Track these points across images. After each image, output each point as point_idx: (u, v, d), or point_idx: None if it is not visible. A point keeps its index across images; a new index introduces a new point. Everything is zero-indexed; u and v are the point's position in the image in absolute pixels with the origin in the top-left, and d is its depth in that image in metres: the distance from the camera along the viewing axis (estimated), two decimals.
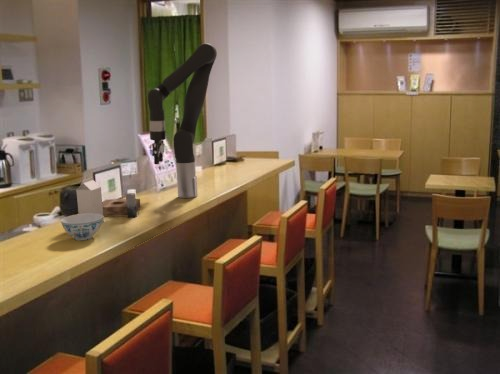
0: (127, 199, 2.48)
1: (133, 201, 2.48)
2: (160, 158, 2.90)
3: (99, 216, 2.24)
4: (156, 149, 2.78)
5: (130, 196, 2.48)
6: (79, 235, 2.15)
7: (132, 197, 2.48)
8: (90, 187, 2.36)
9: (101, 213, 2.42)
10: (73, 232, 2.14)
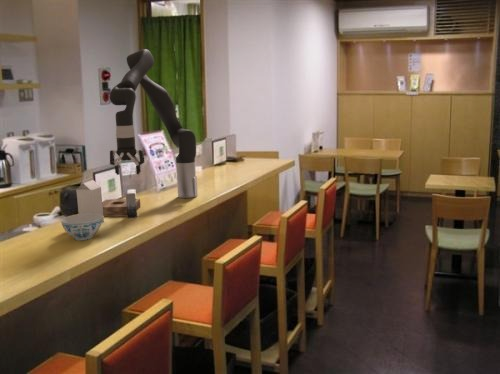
0: (127, 199, 2.48)
1: (133, 201, 2.48)
2: (118, 170, 2.48)
3: (99, 216, 2.24)
4: (143, 156, 2.47)
5: (130, 196, 2.48)
6: (79, 235, 2.15)
7: (132, 197, 2.48)
8: (90, 187, 2.36)
9: (101, 213, 2.42)
10: (73, 232, 2.14)
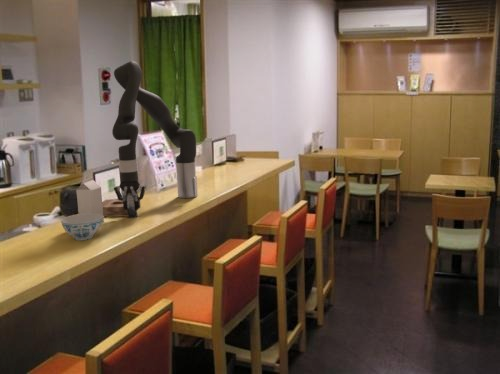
0: (127, 199, 2.48)
1: (133, 201, 2.48)
2: None
3: (99, 216, 2.24)
4: (144, 192, 2.50)
5: (130, 196, 2.48)
6: (79, 235, 2.15)
7: (132, 197, 2.48)
8: (90, 187, 2.36)
9: (101, 213, 2.42)
10: (73, 232, 2.14)
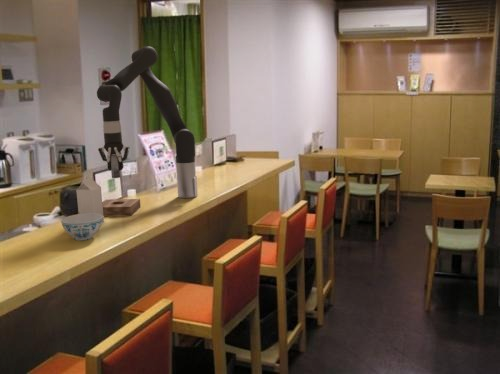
0: (111, 160, 2.55)
1: (117, 162, 2.56)
2: None
3: (99, 216, 2.24)
4: (127, 153, 2.57)
5: (114, 157, 2.55)
6: (79, 235, 2.15)
7: (116, 158, 2.55)
8: (90, 187, 2.36)
9: (101, 213, 2.42)
10: (73, 232, 2.14)
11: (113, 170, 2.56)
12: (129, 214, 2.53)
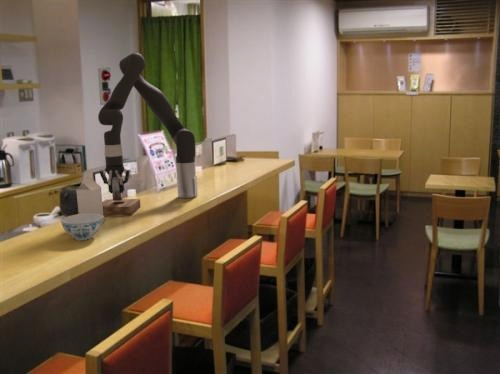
0: (112, 182, 2.58)
1: (118, 185, 2.58)
2: None
3: (99, 216, 2.24)
4: (128, 176, 2.59)
5: (115, 180, 2.57)
6: (79, 235, 2.15)
7: (117, 181, 2.57)
8: (90, 187, 2.36)
9: (101, 213, 2.42)
10: (73, 232, 2.14)
11: (114, 193, 2.58)
12: (129, 214, 2.53)
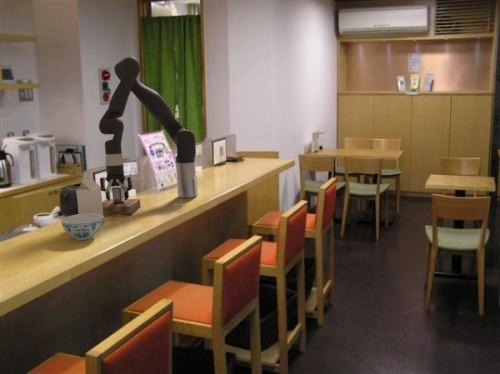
0: (113, 192, 2.58)
1: (119, 195, 2.59)
2: (109, 196, 2.61)
3: (99, 216, 2.24)
4: (131, 182, 2.59)
5: (116, 189, 2.58)
6: (79, 235, 2.15)
7: (118, 190, 2.58)
8: (90, 187, 2.36)
9: (101, 213, 2.42)
10: (73, 232, 2.14)
11: (115, 203, 2.59)
12: (129, 214, 2.53)
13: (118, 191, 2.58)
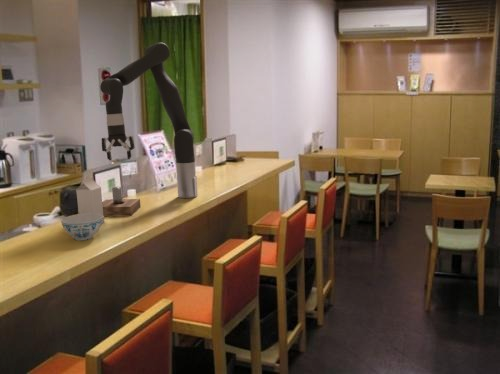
0: (113, 192, 2.58)
1: (119, 195, 2.59)
2: (110, 156, 2.64)
3: (99, 216, 2.24)
4: (133, 141, 2.63)
5: (116, 189, 2.58)
6: (79, 235, 2.15)
7: (118, 190, 2.58)
8: (90, 187, 2.36)
9: (101, 213, 2.42)
10: (73, 232, 2.14)
11: (115, 203, 2.59)
12: (129, 214, 2.53)
13: (118, 191, 2.58)
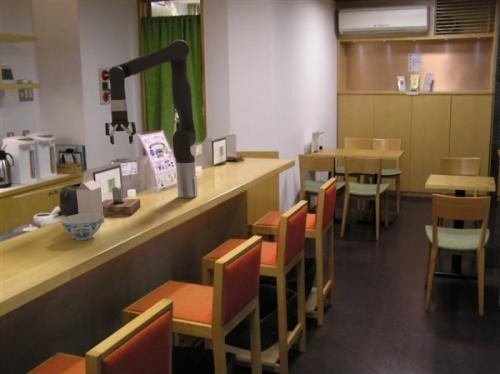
0: (113, 192, 2.58)
1: (119, 195, 2.59)
2: (113, 140, 2.76)
3: (99, 216, 2.24)
4: (135, 127, 2.75)
5: (116, 189, 2.58)
6: (79, 235, 2.15)
7: (118, 190, 2.58)
8: (90, 187, 2.36)
9: (101, 213, 2.42)
10: (73, 232, 2.14)
11: (115, 203, 2.59)
12: (129, 214, 2.53)
13: (118, 191, 2.58)
